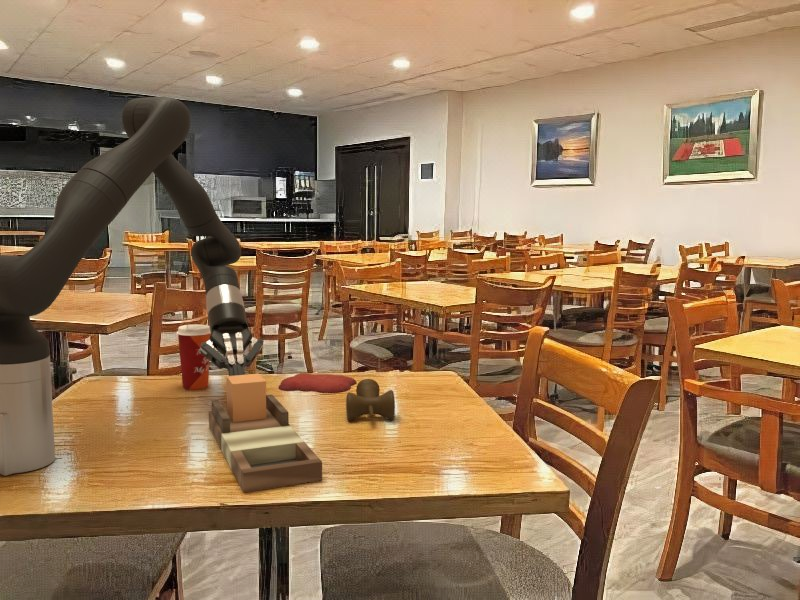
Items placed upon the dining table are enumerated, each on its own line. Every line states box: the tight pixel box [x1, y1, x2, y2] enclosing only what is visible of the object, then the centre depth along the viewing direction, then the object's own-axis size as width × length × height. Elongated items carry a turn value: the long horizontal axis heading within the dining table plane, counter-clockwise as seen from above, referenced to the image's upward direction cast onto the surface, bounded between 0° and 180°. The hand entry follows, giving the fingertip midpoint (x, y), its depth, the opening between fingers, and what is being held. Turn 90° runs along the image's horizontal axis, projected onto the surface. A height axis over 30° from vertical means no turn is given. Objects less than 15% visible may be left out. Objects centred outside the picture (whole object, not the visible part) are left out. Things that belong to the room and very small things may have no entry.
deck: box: [208, 394, 323, 493], centre depth 115 cm, size 32×12×6 cm, turn 24°
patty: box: [277, 372, 358, 394], centre depth 159 cm, size 18×14×2 cm
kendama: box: [345, 378, 396, 422], centre depth 138 cm, size 6×10×20 cm
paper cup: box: [176, 323, 211, 391], centre depth 155 cm, size 8×8×14 cm
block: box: [225, 373, 267, 422], centre depth 125 cm, size 6×6×7 cm
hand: (238, 383), depth 131 cm, fingers closed
